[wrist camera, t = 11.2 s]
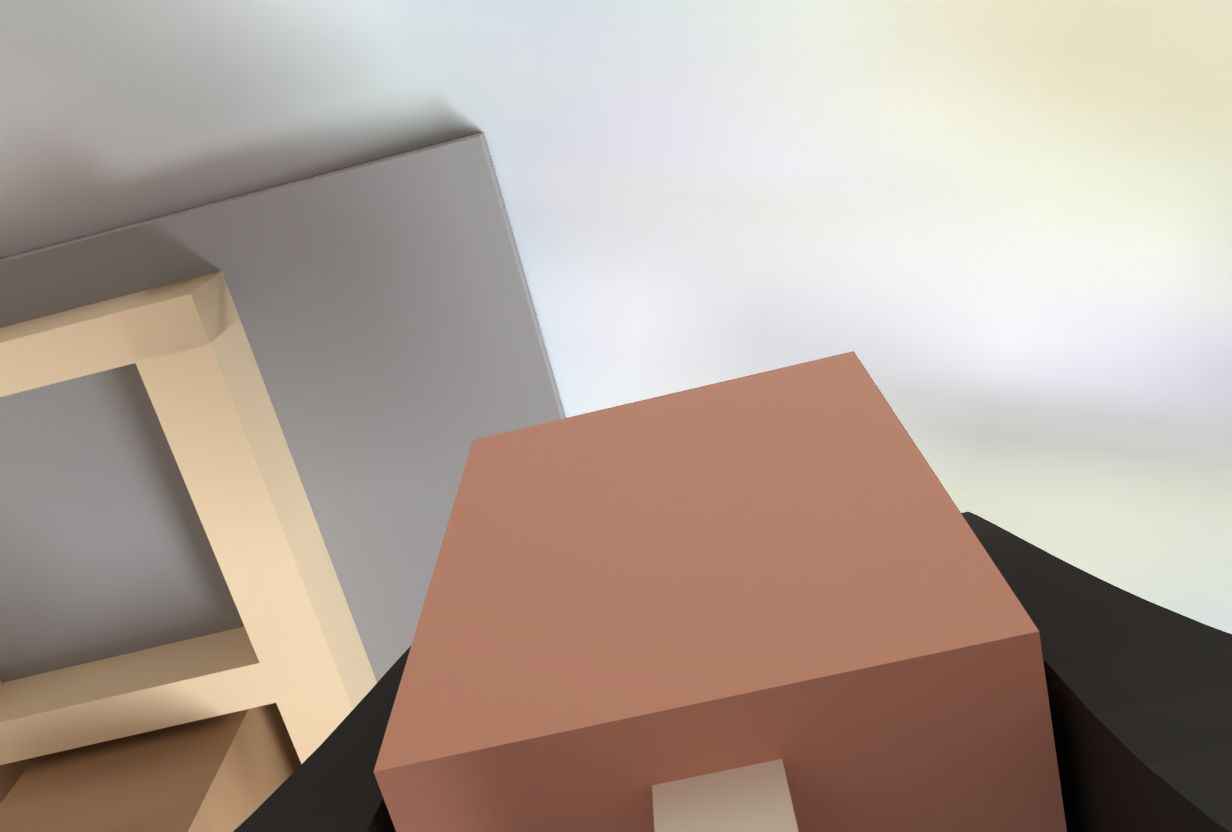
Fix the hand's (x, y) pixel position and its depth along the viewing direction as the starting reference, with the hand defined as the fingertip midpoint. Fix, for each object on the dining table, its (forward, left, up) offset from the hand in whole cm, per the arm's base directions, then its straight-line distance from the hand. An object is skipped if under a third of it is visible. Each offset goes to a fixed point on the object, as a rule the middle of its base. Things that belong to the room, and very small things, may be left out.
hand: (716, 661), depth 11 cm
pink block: (0, 0, -2) cm, 2 cm away
